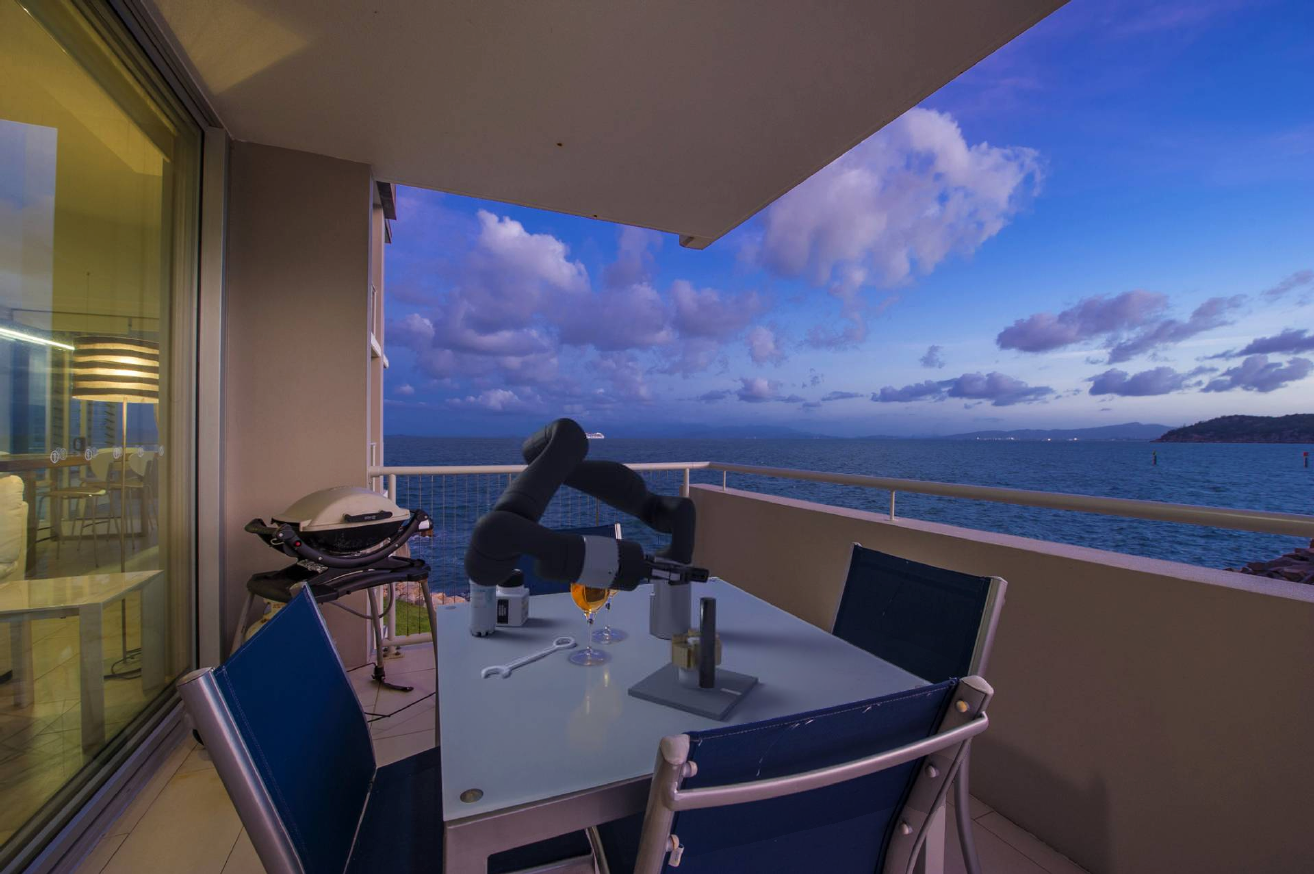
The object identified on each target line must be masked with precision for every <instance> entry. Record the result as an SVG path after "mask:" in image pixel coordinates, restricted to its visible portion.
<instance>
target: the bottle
mask: <svg viewBox="0 0 1314 874" xmlns="http://www.w3.org/2000/svg"><path fill="white" fill-rule="evenodd" d="M468 579H469V581H468V583H469V584H470V591H469V593H470V594H469V595H470V597H469V598H470V599H469V612H468V613H469V615H468V631H469V633H470V634H471V635H474V636H475V637H478V635H479V633H480V634H481V637H484V636H485V635H486V632H487V635H491V634H492V633H493V632H494V631H495V630H496V627H497V626H496V591H497V585H496V586H491V587H485V586H480V585H478V584H476V583H474V582H473V581H472V580H471V579H470V578H469V577H468Z"/></svg>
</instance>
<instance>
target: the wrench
mask: <svg viewBox="0 0 1314 874" xmlns="http://www.w3.org/2000/svg"><path fill="white" fill-rule="evenodd" d="M575 642H576V641H575V639H574V637H570V636H562V637H559V638H556V639H555V640H554V641H553V642H552V646H549V647H546V648H544V649H542V650H541V649H540V651H539V650H538V651H537V652H534V653H532V654H529V655H526V656H524V657H521V658H518V659H517V660H513V661H512V662H508V663H507V664H504V665H491V666H487V667H485V668H484V669H482V670H481V673H480V676H481V677H482V678H483V679H485V678H486V676H487V675H491V674H497V673H498V674H500V675H501V679H505V678H506V677H508V676H509V675H510V672H511V670H513V669H516V668H518V667H522V666H523V665H526V664H528V663H530V662H532V661H535V660H537V659H540V658H542V657H544V656H547V655H549V654H552V653H554V652H556V651H558V650H567V649H571V648H574V647H575V645H576V643H575ZM560 643H567V644H563V645H558V644H560Z"/></svg>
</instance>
